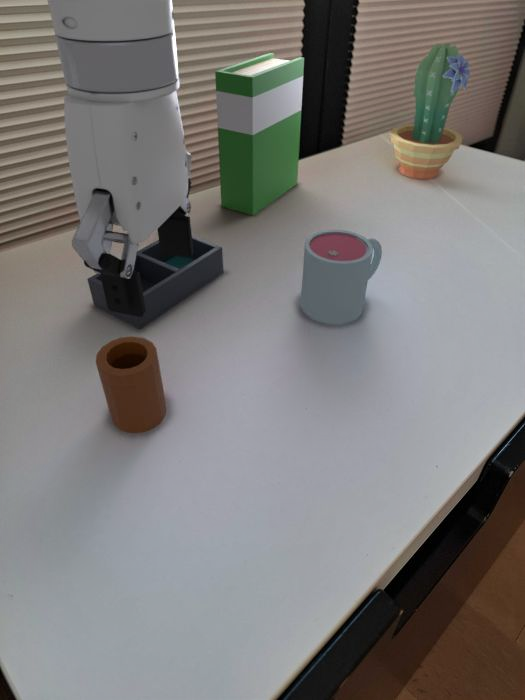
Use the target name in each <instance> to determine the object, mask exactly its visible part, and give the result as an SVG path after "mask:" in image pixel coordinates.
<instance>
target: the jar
mask: <svg viewBox="0 0 525 700" xmlns="http://www.w3.org/2000/svg"><path fill="white" fill-rule="evenodd" d="M95 365H96V368H97V371H98V375H99V376H98V377H99V380H100V383H101V386H102V389H103V393H104V397H105V400H106V404H107V409H108V411H109V415H110V418H111V420H112V423H113V425H114V426H115V427H116V429H118V430H120V431H122V432H124V433H127V434H141V433H146V432H148V431H151V430H153V429H155V428H156V427H158V426H159V425H160V424H161V423H162V421H164V419H165V417H166V415H167V401H166V397H165V390H164V383H163V378H162V373H161V366H160V362H159V356H158V349H157V347H156V346H155V344H154V343H153V342H152V341H150V340H149V339H147V338H145V337H140V336H123V337H122V336H121V337H118V338H116V339H113V340H111V341H109V342H107V343H106V344H104V345H103V346H101V348H100V349H99V351H97V353H96V357H95Z"/></svg>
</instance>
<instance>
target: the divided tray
mask: <svg viewBox="0 0 525 700" xmlns="http://www.w3.org/2000/svg"><path fill="white" fill-rule="evenodd" d="M192 244H193V254H192V255H191V257H189V258H187V257H181V256H175V255H170V254H164V253H162V252H161V251H160V245H159V239H157V240H155V241H153V242H152V243H150V244H148V245H146V246H144V247H143V248H140V249H138V250H137V255H136V260H135V265H134V270H133V271H136V272H139V273H140V279H141V285H142V290H143V296H144V302H145V308H146V313H145V314H144V315H143V316H142V317H137V316H132V315H127V314H122V313H117V312H113V311H110V310H109V309H108V307H107V302H106V298H105V294H104V289H103V285H102V281H101V277H100V274H99V273H95V274H93V275H91V276H89V277H88V278H87V279H86V280H87V283H88V284H87V285H88V287H89V291H90V295H91V299H92V302H93V306H94V307H96V308H97V309H99V310H101V311H103V312H105V313H107V314H108V315H111V316H112V317H114V318H116V319H118V320H120V321H122V322H123V323H126V324H128V325H129V326H131V327H133V328H135V329H137V330H139V331H141V330H142V329H144V328H145V327H146V326H149V325H150V324H151V323H153V322H154V321H155V320H157V319H158V318H160V317H162V315H164V314H165V313H167V312H168V311H170V310H171V309H173V308H174V307H176V306H178V305H179V304H180V303H182V302H183V301H185V300H186V299H188V298H189V297H190V296H192V295H194V294H195V293H197V292H198V291H199V290H201V289H203V288H204V287H205V286H206V285H208V284H210V283H211V282H212V281H214V280H215V279H217V278H219V277H220V276H221V275H223V274H224V255H223V253H224V251H223V246H221V245H218V244H216V243H213V242H211V241H208V240H205V239H203V238H200V237H197V236H196V235H195V236H194V235H192Z"/></svg>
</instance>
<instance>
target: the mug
mask: <svg viewBox="0 0 525 700" xmlns="http://www.w3.org/2000/svg"><path fill="white" fill-rule="evenodd" d="M303 253H304V254H303V264H302V265H303V267H302V278H301V279H302V280H301V293H300V308H301V310H302V311H303V313H304V315H306V316H307V317H308V318H310V319H311V320H314V321H316V322H318V323H321V324H327V325H345V324H348V323H352V322H354V321H355V320H357V319H359V318H360V317H361V315H362V313H363V310H364V304H365V300H366V293H367V288H368V281H369V280H370V279H371V278H372V277H373V276H374V274H376V271H377V269H379V265H380V263H381V260H382V255H383V249H382V245H381V243H380V241H379V240H377V239H376V238H373V237H372V238H371V237H369V238H366V237H365V236H363V235H361V234H359V233H356V232H354V231H349V230H343V229H325V230H320V231H316V232H314V233H312V234H310V235H309V236H308V237H307V238H306V239H305V241H304V250H303Z"/></svg>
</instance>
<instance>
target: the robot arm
mask: <svg viewBox="0 0 525 700" xmlns="http://www.w3.org/2000/svg"><path fill="white" fill-rule="evenodd" d="M47 4H48V9H49V13H50V18H51V22H52V28H53V33H54V37H55V43H56V46H57V47H56V48H57V51H58V55H59V60H60V64H61V69H62V73H63V74H62V75H63V78H64V82H65V87H66V91H67V93H68V94H69V95H67V96H65V97H64V99H63V100H64V101H63V102H64V103H63V106H64V110H63V111H64V113H63V115H64V129H65V141H66V150H67V151H66V152H67V158H68V159H67V160H68V164H69V172H70V177H71V184H72V189H73V195H74V200H75V204H76V209H77V210H76V211H77V214H78V218H79V224H78V226H77V228H76V230H75V232H74V234H73V236H72V239H71V246H72V249H73V250H74V251H75V252H76V254H77V255H78V256H79V257H80V259H81V260H82V261H83V264H84V266H85V267H86V268H89V269H90V270H93V272H94V273H95V274H97V273H99V274H100V277H101V281H102V285H103V289H104V294H105V298H106V302H107V307H108V309H109V310H110V311H113V312H117V313H122V314H127V315H132V316H137V317H142V316H143V315H144V314H145V313H146V308H145V302H144V296H143V290H142V285H141V279H140V273H139V272H136V271H133V270H134V265H135V260H136V255H137V251H138V250H139V244H141V243H143V242H145V240H147V239H148V238H150V237H151V236H152V235H153V234H154V233H155V232H156V231H157V237H158V240H159V245H160V251H161V252H162V253H164V254H170V255H175V256H181V257H187V258H189V257H191V255H192V254H193V244H192V236H193V234H192V233H193V232H192V224H191V222H192V221H191V216H189V215H190V214H191V211H192V203H191V201H190V199H189V195H190V192H191V189H192V181H191V178H190V177H191V176H190V175H191V166H192V154H191V153H190V152H188V151H187V148H186V141H185V134H184V133H185V132H184V127H183V121H182V115H181V108H180V104H179V98H178V94H177V93H178V92H177V91H178V90H179V89H180V87H181V86H180V85H181V84H180V74H179V63H178V52H177V41H176V40H177V39H176V31H175V17H174V7H173V6H174V5H173V0H47ZM114 226H118V227H121V228H122V231H125V232H127V233H125V232H119V231H113V230H114V229H113V228H114ZM113 243H119V244H123V248H122V253H121V258H119V257H117V256H115V255H114V254H111V250H112V244H113Z"/></svg>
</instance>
